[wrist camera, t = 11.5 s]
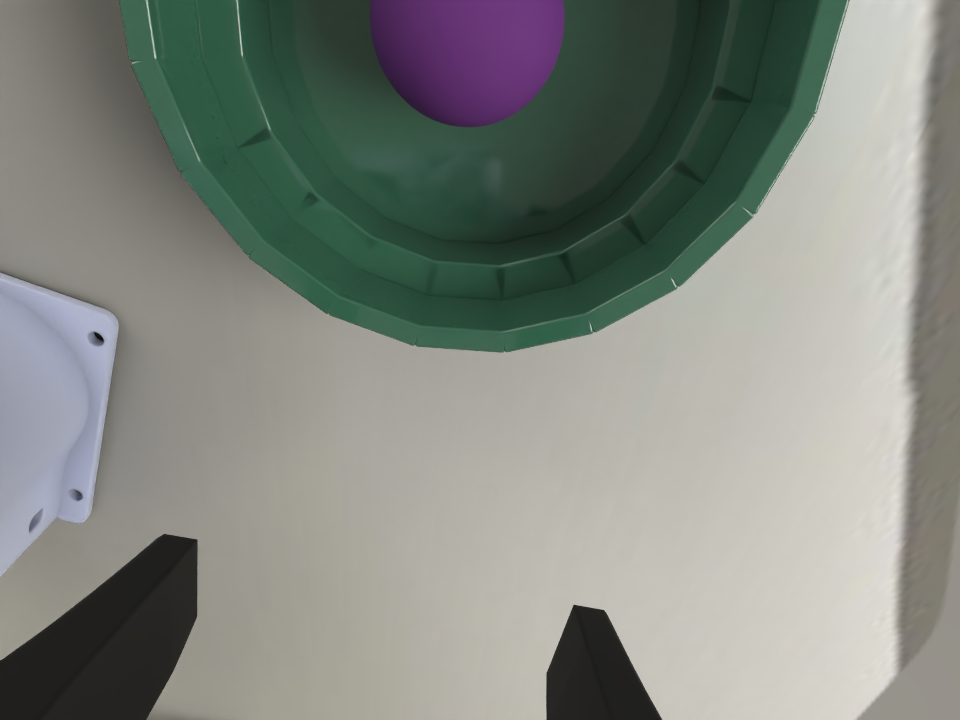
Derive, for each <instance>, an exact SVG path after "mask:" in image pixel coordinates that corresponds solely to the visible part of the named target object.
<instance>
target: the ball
mask: <svg viewBox="0 0 960 720" xmlns="http://www.w3.org/2000/svg"><path fill="white" fill-rule="evenodd" d="M370 27H371V35H372V41H373V45H374V49H375V53H376V55H377V58H378V61H379V64H380V66H381V68H382V70H383V72H384V74H385V76H386V77H387V79H388V81H389V82H390V84H391V85H392V87H393V88H394V89H395V90H396V92H397V93H398V94H399V95H400V96H401V97H402V98H403V99H404V100H405V101H406V102H407V103H408V104H409V105H410V106H411V107H413V108H414V109H415V110H417V111H418V112H419V113H421V114H422V115H424V116H426V117H428V118H430V119H432V120H434V121H437V122H440V123H443V124H447V125H451V126H457V127H481V126H485V125H490V124H494V123H496V122H499V121H502V120H504V119H506V118H508V117H510V116H512V115H514V114H515V113H517V112H518V111H519V110H521V109H522V108H524V107H525V106H526V105H527V104H528V103H529V102H530V101H531V100H532V99H533V98H534V97H535V96H536V95H537V94H538V92H539V91H540V90H541V89H542V87H543V86H544V84H545V83H546V81H547V80H548V78H549V76H550V74H551V72H552V70H553V68H554V66H555V64H556V61H557V58H558V55H559V52H560V48H561V44H562V39H563V32H564V2H563V0H371V4H370Z"/></svg>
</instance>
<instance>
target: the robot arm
mask: <svg viewBox="0 0 960 720" xmlns="http://www.w3.org/2000/svg"><path fill="white" fill-rule="evenodd" d="M118 330H119V324H118V320H117V318H116V317H115V316H114V315H113V314H112V313H111V312H110V311H108V310H106V309H103V308H100V307H98V306H95V305H92V304H89V303H86V302H83V301H80V300H77V299H75V298H72V297H69V296H66V295H63V294H60V293H57V292H54V291H52V290H49V289H46V288H43V287H40V286H37V285H34V284H31V283H29V282H26V281H23V280H20V279H17V278H14V277H11V276H9V275H6V274H3V273H0V577H1V576H2V575H3V574H4V573H5V572H6V571H7V569H8V568H9V567H10V566H11V565H12V564H13V563H14V562H15V561H16V560H17V559H18V558H19V557H20V556H21V555H22V554H23V553H24V551H25V550H26V549H27V548H28V547H29V546H30V545H31V544H32V543H33V542H34V541H35V540H36V539H37V538H38V537H39V536H40V535H41V533H42V532H43V531H44V530H45V529H46V528H47V527H48V526H49V525H50V524H51V523H52V522H53V521H54V520H55V519H56V518H58V519H61V520H65V521H68V522H72V523H82V522H84V521H85V520H86V519H87V518H88V517H89V516H90V514H91V512H92V505H93V498H94V491H95V485H96V478H97V471H98V464H99V458H100V451H101V444H102V437H103V431H104V424H105V417H106V410H107V404H108V397H109V390H110V383H111V377H112V370H113V363H114V357H115V350H116V343H117V336H118ZM95 332H97V333H99V334H100V335H101V336H102V337H103V339H104V341H101V340H99V339H98V338H97V337H96V336H95ZM76 490H77V491H79V492H80V493H79V492H77V491H76ZM196 618H197V540H196V539H190V538H185V537H179V536H173V535H167V534H163V535H162V536H160V537H158V538H157V539H156V540H155V541H153V542H152V543H151V544H150V545H149V546H148V547H146V548H145V549H144V550H143V551H142V552H140V553H139V554H138V555H137V556H136V557H134V558H133V559H132V560H131V561H130V562H129V563H127V564H126V565H125V566H124V567H123V568H121V569H120V570H119V571H118V572H116V573H115V574H114V575H113V576H112V577H110V578H109V579H108V580H107V581H105V582H104V583H103V584H102V585H100V586H99V587H98V588H97V589H96V590H94V591H93V592H92V593H91V594H89V595H88V596H87V597H85V598H84V599H83V600H82V601H80V602H79V603H78V604H76V605H75V606H74V607H73V608H71V609H70V610H69V611H67V612H66V613H65V614H64V615H62V616H61V617H60V618H58V619H57V620H56V621H55V622H53V623H52V624H51V625H49V626H48V627H47V628H45V629H44V630H43V631H41V632H40V633H38V634H37V635H36V636H34V637H33V638H32V639H30V640H29V641H27V642H26V643H25V644H23V645H22V646H20V647H19V648H18V649H16V650H15V651H13V652H12V653H11V654H9V655H8V656H6V657H5V658H4V659H2V660H1V661H0V720H146V719H147V717H148V715H149V713H150V712H151V710H152V708H153V706H154V705H155V703H156V701H157V699H158V698H159V696H160V694H161V692H162V690H163V689H164V687H165V685H166V683H167V682H168V680H169V678H170V676H171V674H172V673H173V670H174V668H175V666H176V664H177V662H178V659H179V657H180V655H181V653H182V650H183V648H184V646H185V644H186V641H187V639H188V637H189V634H190V632H191V629H192V627H193V625H194V622H195V620H196ZM546 709H547V720H662V718H661V717H660V715H659V713H658V711H657V710H656V708H655V706H654V704H653V702H652V701H651V699H650V697H649V695H648V693H647V692H646V690H645V688H644V686H643V684H642V682H641V680H640V678H639V677H638V675H637V673H636V671H635V669H634V667H633V665H632V663H631V661H630V659H629V657H628V655H627V653H626V651H625V649H624V647H623V645H622V643H621V641H620V639H619V637H618V635H617V633H616V631H615V629H614V627H613V625H612V623H611V621H610V619H609V617H608V615H607V614H606V612H605V611H604V610H600V609H595V608H589V607H583V606H577V605H573V608H572V611H571V613H570V616H569V618H568V621H567V623H566V626H565V628H564V631H563V633H562V636H561V638H560V641H559V643H558V646H557V649H556V651H555V654H554V656H553V659H552V661H551V664H550V666H549V669H548V671H547V690H546Z"/></svg>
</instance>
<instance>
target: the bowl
mask: <svg viewBox="0 0 960 720" xmlns="http://www.w3.org/2000/svg"><path fill="white" fill-rule="evenodd" d="M849 1H850V0H563V2H564V32H563V39H562V44H561V48H560V52H559V55H558V58H557V61H556V64H555V66H554V68H553V70H552V72H551V74H550V76H549V78H548V80H547V81H546V83H545V84H544V86H543V87H542V89H541V90H540V91H539V92H538V94H537V95H536V96H535V97H534V98H533V99H532V100H531V101H530V102H529V103H528V104H527V105H526V106H525V107H524V108H522V109H521V110H519V111H518V112H517V113H515V114H514V115H512V116H510V117H508V118H506V119H504V120H502V121H499V122H496V123H494V124H490V125H485V126H481V127H457V126H451V125H447V124H443V123H440V122H437V121H434V120H432V119H430V118H428V117H426V116H424V115H422V114H421V113H419V112H418V111H417V110H415V109H414V108H413V107H411V106H410V105H409V104H408V103H407V102H406V101H405V100H404V99H403V98H402V97H401V96H400V95H399V94H398V93H397V92H396V90H395V89H394V88H393V87H392V85H391V84H390V82H389V81H388V79H387V77H386V76H385V74H384V72H383V70H382V68H381V66H380V64H379V61H378V58H377V55H376V53H375V49H374V45H373V41H372V35H371V27H370V4H371V0H119V3H120V9H121V15H122V21H123V27H124V33H125V39H126V45H127V51H128V57H129V60H130V61H131V62H132V63H131V67H132V69H133V71H134V73H135V76H136V78H137V80H138V82H139V85H140V87H141V89H142V91H143V93H144V96H145V98H146V100H147V102H148V104H149V107H150V109H151V111H152V113H153V115H154V118H155V120H156V122H157V124H158V127H159V129H160V131H161V133H162V135H163V138H164V140H165V142H166V144H167V146H168V149H169V151H170V153H171V155H172V157H173V160H174V162H175V164H176V166H177V169H178V170H179V171H181V175H182V176H183V178H184V179H185V180H186V181H187V183H188V184H189V185H190V186H191V187H192V189H193V190H194V191H195V192H196V194H197V195H198V196H199V197H200V199H201V200H202V201H203V202H204V203H205V205H206V206H207V207H208V208H209V210H210V211H211V212H212V213H213V215H214V216H215V217H216V218H217V219H218V221H219V222H220V223H221V224H222V226H223V227H224V228H225V229H226V231H227V232H228V233H229V234H230V235H231V237H232V238H233V239H234V240H235V242H236V243H237V244H238V245H239V247H240V248H241V249H242V250H243V251H244V253H245V254H246V255H249V258H250V259H251V260H252V261H254V262H255V263H257V264H258V265H259V266H261V267H262V268H264V269H265V270H266V271H268V272H269V273H270V274H272V275H273V276H275V277H276V278H277V279H279V280H280V281H282V282H283V283H284V284H286V285H287V286H289V287H290V288H291V289H293V290H294V291H295V292H297V293H298V294H300V295H301V296H302V297H304V298H305V299H307V300H308V301H309V302H311V303H312V304H313V305H315V306H316V307H318V308H319V309H320V310H322V311H323V312H325V313H326V314H328V313H329V315H330V316H333V317H336V318H339V319H341V320H344V321H347V322H350V323H352V324H355V325H358V326H360V327H363V328H366V329H369V330H371V331H374V332H377V333H380V334H382V335H385V336H388V337H390V338H393V339H396V340H399V341H401V342H404V343H407V344H410V345H412V346H414V345H416V346H417V347H431V348H445V349H459V350H474V351H488V352H504V351H505V352H510V351H515V350H520V349H524V348H529V347H533V346H538V345H543V344H547V343H552V342H557V341H561V340H566V339H571V338H575V337H580V336H584V335H589V334H592V333H593V332H597V331H599V330H601V329H603V328H605V327H607V326H609V325H610V324H612V323H614V322H616V321H618V320H620V319H622V318H624V317H625V316H627V315H629V314H631V313H633V312H635V311H637V310H638V309H640V308H642V307H644V306H646V305H648V304H650V303H652V302H653V301H655V300H657V299H659V298H661V297H663V296H665V295H666V294H668V293H670V292H672V291H674V290H676V289H677V288H678V286H679V287H680V286H681V285H682V284H683V283H684V282H686V281H687V280H688V279H689V278H690V277H691V276H692V275H693V274H694V273H695V272H696V271H697V270H698V269H699V268H700V267H701V266H702V265H703V264H704V263H705V262H707V261H708V260H709V259H710V258H711V257H712V256H713V255H714V254H715V253H716V252H717V251H718V250H719V249H720V248H721V247H722V246H723V245H724V244H725V243H726V242H727V241H729V240H730V239H731V238H732V237H733V236H734V235H735V234H736V233H737V232H738V231H739V230H740V229H741V228H742V227H743V226H744V225H745V224H746V223H747V222H748V221H749V220H751V219H752V218H753V216H754V215H753V214H756V213H757V211H758V210H759V208H760V206H761V205H762V203H763V201H764V200H765V198H766V196H767V195H768V193H769V192H770V190H771V188H772V187H773V185H774V183H775V182H776V180H777V178H778V177H779V175H780V173H781V172H782V170H783V168H784V167H785V165H786V164H787V162H788V160H789V159H790V157H791V155H792V154H793V152H794V150H795V149H796V147H797V145H798V144H799V142H800V141H801V139H802V137H803V136H804V134H805V132H806V131H807V129H808V127H809V126H810V124H811V122H812V121H813V119H814V117H815V116H814V114H816V112H817V110H818V106H819V103H820V99H821V96H822V93H823V89H824V86H825V82H826V79H827V76H828V72H829V69H830V65H831V62H832V58H833V55H834V52H835V48H836V45H837V41H838V38H839V35H840V31H841V28H842V24H843V21H844V18H845V14H846V11H847V7H848V4H849Z"/></svg>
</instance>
